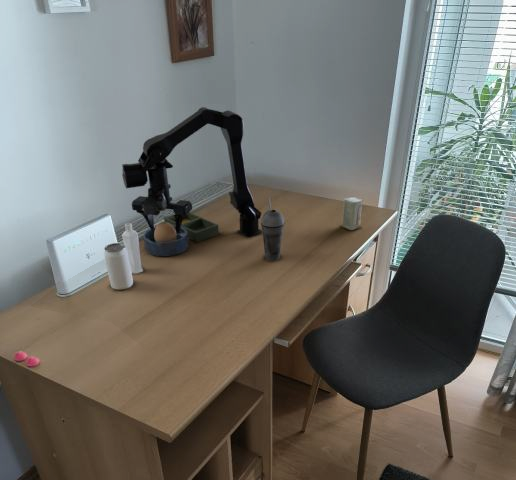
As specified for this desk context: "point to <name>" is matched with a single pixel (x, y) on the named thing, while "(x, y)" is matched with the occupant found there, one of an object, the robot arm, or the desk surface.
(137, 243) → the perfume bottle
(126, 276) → the can
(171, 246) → the bowl
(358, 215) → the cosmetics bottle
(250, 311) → the desk surface
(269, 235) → the beverage cup
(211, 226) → the carton
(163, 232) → the egg
